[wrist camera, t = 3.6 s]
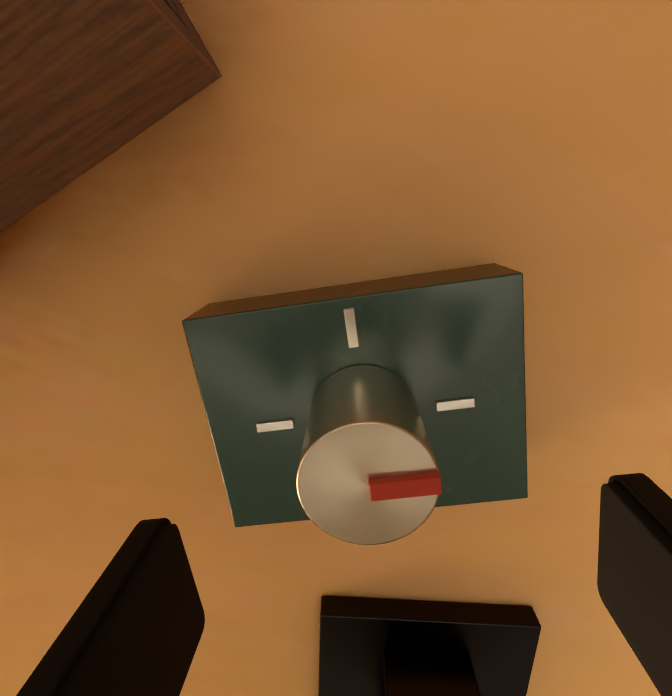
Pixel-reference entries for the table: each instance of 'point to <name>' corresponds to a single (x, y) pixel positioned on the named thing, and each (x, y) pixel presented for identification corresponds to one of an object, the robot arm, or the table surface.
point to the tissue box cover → (86, 86)
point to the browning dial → (366, 459)
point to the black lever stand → (425, 648)
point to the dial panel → (374, 350)
